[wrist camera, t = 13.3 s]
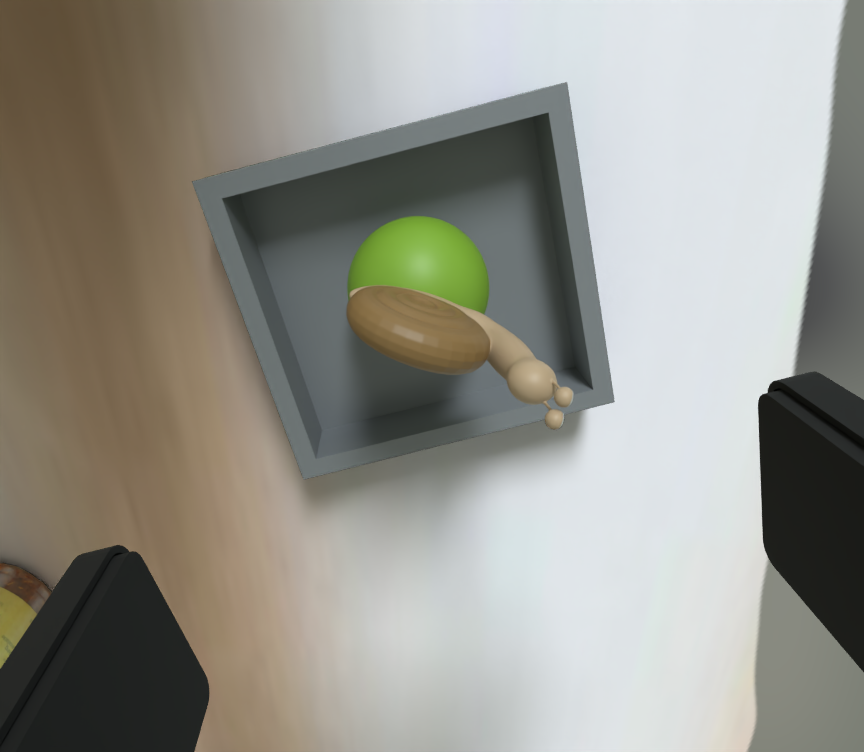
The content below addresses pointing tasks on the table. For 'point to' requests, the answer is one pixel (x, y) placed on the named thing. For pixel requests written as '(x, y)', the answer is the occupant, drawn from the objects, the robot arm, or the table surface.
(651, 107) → the table surface
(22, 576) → the sauce bottle
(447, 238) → the snail figurine
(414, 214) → the bin
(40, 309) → the table surface
